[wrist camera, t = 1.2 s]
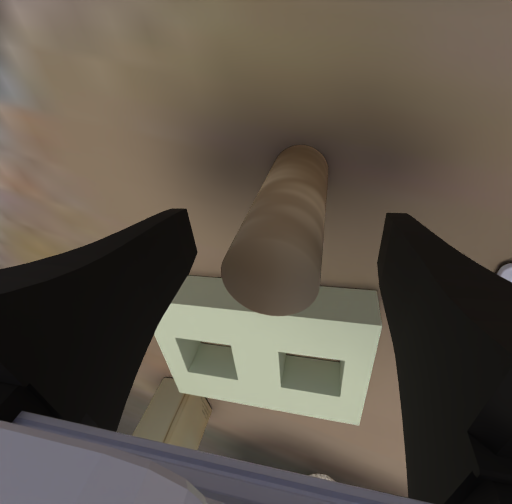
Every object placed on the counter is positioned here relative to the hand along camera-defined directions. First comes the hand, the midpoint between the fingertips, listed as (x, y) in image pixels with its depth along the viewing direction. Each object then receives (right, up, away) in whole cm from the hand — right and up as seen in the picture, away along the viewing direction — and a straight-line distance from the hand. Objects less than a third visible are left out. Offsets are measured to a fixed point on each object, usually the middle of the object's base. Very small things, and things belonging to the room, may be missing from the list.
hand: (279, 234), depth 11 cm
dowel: (+2, +4, +5) cm, 6 cm away
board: (0, -8, +14) cm, 16 cm away
